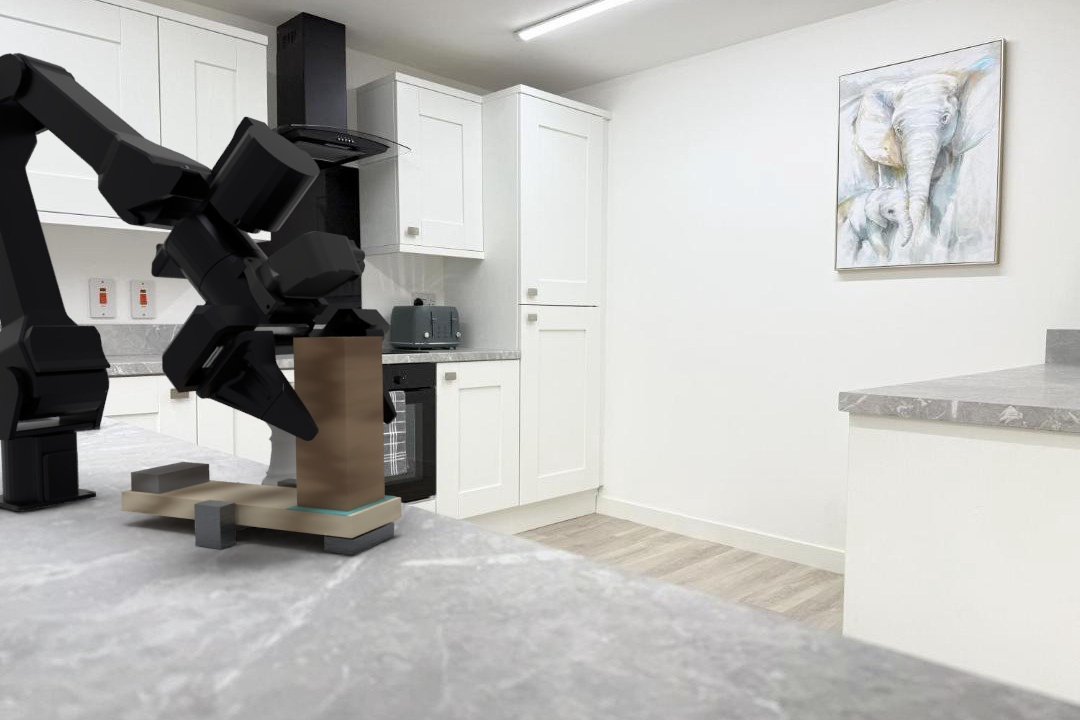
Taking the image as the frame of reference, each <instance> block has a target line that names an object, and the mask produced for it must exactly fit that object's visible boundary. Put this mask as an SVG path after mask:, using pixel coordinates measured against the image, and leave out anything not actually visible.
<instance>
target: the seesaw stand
mask: <svg viewBox="0 0 1080 720" xmlns="http://www.w3.org/2000/svg"><path fill="white" fill-rule="evenodd" d="M277 486H280V487H291V488H297V479H291V478H289V479H285V480H281V481H277ZM194 509H195V519H194V540H195V541H194V543H195V544H194V545H195V546H196V547H203V548H210V549H211V548H212V549H218V550H223V549H226V548H229V547H231V546H234V545H236V544H237V539H236V532H237V531H236V530H235V503H233V502H224V501H216V500H207V501H204V502H200V503H196V504H194ZM394 537H395V522H394V521H392V522H389V523H387V524H384V525H382V526H380V527H377V528H375V529H373V530H370V531H368V532H365V533H363V534H361V535H358V536H356V537H354V538H346V537H338V536H329V535H324V536H323V538H324V539H323V542H324V544H323V545H324V552H327V553H335V554H342V555H349V556H354V555H356V554H359V553H361V552H363V551H365V550H367V549H369V548H372V547H374V546H376V545H378V544H381V543H383V542H386V541H387V540H390V539H392V538H394Z"/></svg>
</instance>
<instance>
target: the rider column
mask: <svg viewBox="0 0 1080 720" xmlns="http://www.w3.org/2000/svg"><path fill="white" fill-rule="evenodd" d="M293 349H294V359H293V380H294V381H293V384H294V385H293V389H294V390H295V392H296V393H297V395H298V396H299V398H300V399H301V401H302V402H303V404H304V405H305V407H306V408H307V410H308V411H309V413H310V414H311V416H312V418H313V420H314V422H315V423H316V425H317V427H318V429H319V432H318V434H317V435H316V436H315V437H314V438H313V440H311V441H305V440H303V439H300V438H298V437H296V479H297V506H299V507H308V508H318V509H328V510H338V511H347V512H348V511H351V510H354V509H356V508H359V507H362V506H365V505H368V504H370V503H373V502H376V501H379V500H381V499H384V498H385V495H386V494H385V493H386V490H385V443H384V439H385V438H384V433H385V432H384V422H383V377H384V375H382V374H383V342H382V337H306V338H293Z"/></svg>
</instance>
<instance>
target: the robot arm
mask: <svg viewBox="0 0 1080 720" xmlns="http://www.w3.org/2000/svg"><path fill="white" fill-rule="evenodd" d="M47 131H49V132H50V133H52V135H54V137H56V138H57V139H59V141H61V142H62V143H63V144H64V145H65V146H66V147H68V148H69V149H70V150H71V151H73V152H74V154H75V155H77V156H78V157H79V158H80V159H81V160H82V161H84V162H85V163H86V164H87V165H88V166H89V167H91V168H92V170H93V171H94V172H95V174H96V175H97V190H98V191H99V193H100V195H102V197H103V198H104V200H105V201H106V202H107V203H108V205H109V206H110V208H112V210H113V211H114V213H115V214H116V215H117V216H118V217H119V219H120V220H122V221H123V222H124V223H126V224H128V225H130V226H137V227H143V228H149V229H150V228H151V229H159V230H165V231H166V230H167V231H170V232H169V234H168V235H167V237H166V238H165V240H164V241H163V243H157V244H156V245H155V250H156V251H155V255H154V258H153V260H152V261H151V270H150V271H151V273H150V274H151V276H152V277H154V278H163V279H164V278H166V279H179V280H182V279H183V280H187V281H188V282H189V283H190V284H191V286H192V287H193V289H194V290H195V291H196V292H197V294H198V295H199V296H200V298H201V299H202V300H203V301H204V304H196V305H195V307H194V309H193V310H192V311H191V313H190V314H189V316H188V317H187V318H186V320H185V321H184V323H183V324H182V326H181V327H180V328H179V330H178V331H177V333H176V334H175V335H174V336H173V338H172V340H171V341H170V342H169V344H168V345H167V347H166V348H165V350H163V352H162V356H161V362H162V363H161V366H162V373H163V374H164V375H165V377H166V378H167V380H168V381H169V382H170V383H171V385H172V386H173V387H174V389H175V390H176V392H177V393H178V394H181V393H190V392H192V393H193V392H195V394H196V396H198V397H199V398H200V399H202V400H205V399H209V400H213V401H214V402H217V403H220V404H222V405H225V406H226V407H229V408H232V409H235V410H237V411H239V412H242V413H244V414H247V415H249V416H251V417H253V418H256V419H257V420H260V421H263V422H264V423H265V424H267V423H268V424H271V425H273V426H275V427H277V428H279V429H281V430H283V431H285V432H288V433H290V434H292V435H294V436H296V437H298V438H300V439H303V440H305V441H311V440H313V438H314V437H315V436H316V435H317V434H318V432H319V429H318V427H317V425H316V423H315V422H314V420H313V418H312V416H311V414H310V413H309V411H308V410H307V408H306V407H305V405H304V404H303V402H302V401H301V399H300V398H299V396H298V395H297V393H296V392H295V390H294V386H292V385H291V382H289V380H288V378H287V377H286V376H285V374H284V372H283V371H282V369H281V368H280V367H279V365H278V362H277V360H294V349H293V338H306V337H382V343H383V342H384V341H385V339H386V334H387V333H388V331H389V330H390V323H389V322H388V321H387V320H386V319H385V318H384V316H383V315H382V314H381V313H380V311H378V309H376V308H338V309H337V311H336V312H335V313H334V314H333V315H332V317H331V318H330V320H329V321H328V322H327V323H326V324H325V326H324V327H323V328H315V326H316V321H315V320H314V319H315V318H316V317H317V316H322V314H323V313H324V312H325V310H326V309H328V307H329V305H330V304H329V302H328V301H327V300H326V299H325V298H324V297H326V296H328V295H330V294H332V293H333V292H335V291H337V290H339V289H340V288H342V287H343V286H345V285H347V284H348V283H355V282H356V281H358V280H359V279H361V278H362V277H363V273H364V272H365V268H366V263H365V261H364V260H365V259H366V253H365V251H364V250H363V249H360V248H359V247H358V246H357V245H356V243H355V240H353V239H349V238H348V236H346V235H342V234H334V233H329V232H324V231H319V230H318V231H315V230H314V231H310V232H306V233H304V234H301V235H299V236H298V237H296V238H295V239H293V240H292V241H290V242H289V243H288V244H286V245H285V246H283V247H282V248H279V249H278V250H277V251H275V252H274V253H272V254H271V255H270V256H269V257H268V256H267V255H266V253H265V252H264V251H263V250H262V249H261V247H260V246H259V245H258V243H256V242H255V240H254V239H253V238H252V237H251V235H250V234H253V235H257V234H260V233H261V231H263V232H265V233H266V232H267V233H268V232H269V233H275V232H278V231H279V230H280V228H281V227H282V226H283V224H285V222H286V220H287V219H288V218H289V217H290V215H291V214H292V213H293V211H294V209H295V208H296V207H297V205H298V204H299V203H300V202H301V200H302V199H303V197H304V196H305V194H306V193H307V191H309V188H310V187H311V186H312V185H313V183H314V182H315V180H316V179H317V177H319V175H320V173H321V172H320V167H319V166H318V163H317V162H316V161H315V159H314V158H313V157H312V156H311V155H310V154H309V153H308V152H307V151H305V150H303V149H301V148H299V147H298V146H296V145H295V144H294V143H292V142H291V141H290V140H288V139H286V138H285V137H284V136H282V135H280V134H279V133H277V132H275V131H273V130H272V129H271V128H270V126H269V125H268V124H267V123H266V122H264V121H261V120H258V119H255V118H252V117H250V116H243V118H242V119H241V121H240V122H239V124H238V125H237V126H236V128H235V131H234V134H233V136H232V138H231V140H230V142H229V143H228V145H226V147H225V149H224V150H223V152H222V153H221V155H220V157H219V158H218V160H217V161H216V162H215V164H214V165H213V167H212V169H211V168H210V167H208V166H207V165H205V164H203V163H201V162H199V161H197V160H195V159H193V158H191V157H189V156H187V155H185V154H184V153H180V152H178V151H175V150H173V149H171V148H167V147H165V146H162V145H160V144H158V143H155V142H153V141H152V140H149V139H148V138H146V137H145V136H144V135H142V134H141V133H140V132H139V131H138V130H136V129H135V128H133V127H132V126H131V125H130V124H129V123H127V121H125V120H124V119H122V118H121V116H119V115H118V114H117V113H116V112H114V111H113V110H112V109H110V108H109V107H108V106H107V105H105V103H103V102H102V101H101V100H100V99H99V98H97V97H96V96H95V95H94V94H93V93H91V92H90V91H89V90H87V89H86V88H85V87H84V86H83V85H81V84H80V83H79V82H78V81H76V78H75V77H74V75H73V74H72V73H71V72H69V71H68V70H67V69H66V68H65V67H63V66H61V65H58V64H55V63H51V62H49V61H45V60H44V59H43V60H42V59H39V58H37V57H33V56H31V55H28V54H24V53H21V52H17V53H10V52H9V53H4V54H2V55H0V326H1V329H0V454H1V455H0V456H1V457H0V458H1V459H0V460H1V461H0V463H1V483H2V494H0V508H5V509H8V510H12V511H16V512H24V511H31V510H36V509H42V508H47V507H51V506H55V505H62V504H66V503H67V504H68V503H71V502H77V501H82V500H83V501H84V500H86V499H93V498H96V497H97V491H95V490H90V489H85V488H81V487H80V484H79V483H80V480H79V479H80V478H79V452H78V430H79V431H80V430H86V429H99V428H100V427H101V424H102V419H103V416H104V410H105V405H106V402H107V397H108V393H109V390H110V377H109V373H108V370H107V369H110V368H112V367H111V364H110V362H109V361H108V359H107V358H106V355H105V352H104V348H103V343H102V336H101V333H100V332H99V330H98V329H97V327H96V326H95V325H79V324H77V323H76V322H75V320H73V319H72V318H71V317H70V316H69V314H68V312H67V311H66V308H65V307H66V306H65V304H64V303H65V302H64V300H63V297H62V294H61V289H60V285H59V282H58V279H57V276H56V272H55V269H54V265H53V261H52V258H51V254H50V251H49V247H48V244H47V241H46V237H45V234H44V230H43V226H42V223H41V219H40V216H39V212H38V208H37V205H36V201H35V199H34V198H35V197H34V193H33V191H32V186H31V184H30V179H29V177H28V172H27V165H28V163H29V161H30V159H31V158H32V157H31V156H33V153H34V151H35V148H36V147H37V145H38V138H37V136H38V135H40V134H41V133H42V134H43V133H45V132H47ZM382 375H383V373H382ZM394 404H395V403H394V401H393V399H392V396H391V394H390V391H389V388H388V386H387V382H386V380H385V378H384V375H383V424H385V425H391V424H392V423H393V422H394V421H395V419H396V418H397V417H398V413H397V409H396V406H395V405H394ZM50 418H58V419H51V420H44V421H43V420H42V419H50ZM35 420H42V421H37V422H36V421H35ZM28 421H33V422H28ZM34 421H35V422H34ZM19 422H27V423H19ZM18 423H19V424H18Z"/></svg>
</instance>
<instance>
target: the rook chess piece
mask: <svg viewBox="0 0 1080 720" xmlns="http://www.w3.org/2000/svg"><path fill="white" fill-rule="evenodd" d="M266 425H267V426H268V427H269V429H270V431H271V436H270V437H269V438H268V440H269V441H270V443H271V446H270V447H271V451H270V459H269V465H268V469H267V470H266V471H265V474H266V476H265V477H264V478H263V479H262V481H261V484H260V485H269V486H277V481H281V480H285V479H289V478H291V479H296V436H294V435H292V434H290V433H288V432H285V431H283V430H281V429H279V428H277V427H275V426H273V425H271V424H268V423H266Z"/></svg>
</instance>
